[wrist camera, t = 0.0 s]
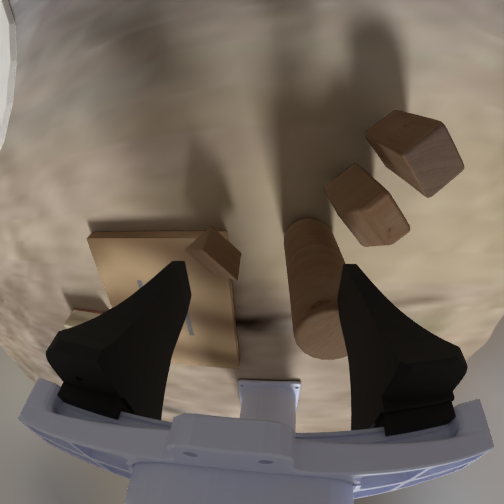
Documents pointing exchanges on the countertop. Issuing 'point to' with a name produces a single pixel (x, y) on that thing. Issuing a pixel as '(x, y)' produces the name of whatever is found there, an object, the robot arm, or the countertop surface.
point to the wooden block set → (355, 218)
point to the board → (201, 284)
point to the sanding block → (80, 317)
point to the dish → (6, 65)
